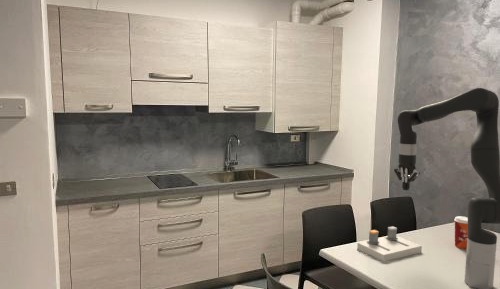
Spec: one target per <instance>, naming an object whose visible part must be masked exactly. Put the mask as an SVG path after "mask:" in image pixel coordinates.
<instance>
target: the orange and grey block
mask: <svg viewBox="0 0 500 289" xmlns="http://www.w3.org/2000/svg"><path fill="white" fill-rule="evenodd" d="M368 235H369V237H368V240H369V241H368V240H366V241H367V242H368V243H370V244H372V245H373V244H378V243H379V241H378V238H379V231H378V230H377V229H372V230H368Z"/></svg>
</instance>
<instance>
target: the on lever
mask: <svg viewBox="0 0 500 289" xmlns="http://www.w3.org/2000/svg"><path fill="white" fill-rule="evenodd" d="M397 231H398V228H397V227H395V226H393V225H392V226H388V227H387V236H388V237H387V236H385V237H386V239H388V240H391V241H392V240H396V239H398V238H397V237H396V236H397Z"/></svg>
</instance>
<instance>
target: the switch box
mask: <svg viewBox="0 0 500 289" xmlns="http://www.w3.org/2000/svg"><path fill="white" fill-rule="evenodd" d="M386 237H388V235H386V236H383V237H378V241H379V243H378V244H373V245H372V244H370V243H368V242H367V241H369V239H368V240H364V241H358V242H357V250H359V251H361V252H363V253H366V254H367V255H369V256H371V257H373V258H375V259H377V260H379V261H381V262H387V261H392V260H395V259H396V260H397V259H399V258H404V257H408V256H412V255H415V254H419V253H422V251H423V250H422V248H423V246H422V245H421V244H417V243H416V242H413V241H412V240H411V241H410V240H408V239H406V238H403V237H401V236H397V235H396V237H397V238H398V239H396V240H392V241H391V240H388V239H386Z"/></svg>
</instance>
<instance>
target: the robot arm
mask: <svg viewBox="0 0 500 289" xmlns="http://www.w3.org/2000/svg"><path fill="white" fill-rule="evenodd" d="M499 101H500V100H499V97H498V95H497V94H496V93H495V92H494V91H491V90H489V89H486V88H483V87H475V88H472V89H470V90H467V91H465V92H463V93H461V94H459V95H458V94H457V95H456V96H454V97H452V98H449V99H446V100H443V101H440V102H435V103H432V104H427V105H424V106H422V107H420V108H418V109H414V110H402V111H401V112H399V114H398V116H397V125H398V131H399V134H400V136H399V147H398V165H397V166H398V167H397V168H393V170H394V171H393V172H394V173H395V175H396V177H397V178H398V180H399V181H401V182H402V190H403V191H409V190H410V185H411V183H413V182H414V181H415V180H416V179H417V178H418V177H419V176H420V174H421V173H420V172H419V171H418V170H417V168H416V163H417V151H418V150H417V149H418V148H417V137H418V135H417V132H416V131H413V126H417V125H418V126H419V125H422V124H424V123H428V122H432V121H433V122H434V121H438V120H441V119H443V118H446V117H448V116H449V115H451V114H454V113H457V112H463V111H464V112H465V111H471V112H475V116H476V129H475V133H474V136H473V138H472V140H471V144H470V163H471V166H472V167H473V169H474V171H475V173H477V175H479V177H480V179H481V180H482V181H483V183H484V185H485V186H486V191H487V194H488V197H471V198H470V200H469V201H468V204H467V218H468V239H467V249H466V255H465V257H466V258H465V266H464V267H465V268H464V269H465V270H464V282H465V284H467V285H468V287H469V288H474V289H493V288H494V282H495V280H494V279H495V268H496V267H495V266H496V252H497V242H498V236H497V235H496V234H495V233H494V232H492V231H490V230H487V229H485V228H483V227H482V224H492V225H495V224H496V225H497V224H500V144H499V126H498V122H499V121H498V120H499V106H500V105H499V103H500V102H499Z"/></svg>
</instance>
